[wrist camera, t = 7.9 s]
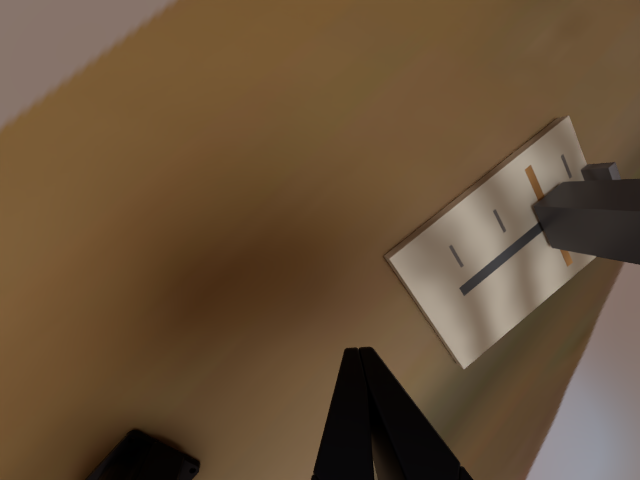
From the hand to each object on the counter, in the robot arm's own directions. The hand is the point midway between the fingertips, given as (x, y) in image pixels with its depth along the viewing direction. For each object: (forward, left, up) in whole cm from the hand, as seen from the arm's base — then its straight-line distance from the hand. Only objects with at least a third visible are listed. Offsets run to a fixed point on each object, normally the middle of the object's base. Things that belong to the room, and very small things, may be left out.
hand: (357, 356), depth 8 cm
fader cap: (+18, -15, -12) cm, 26 cm away
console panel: (+13, -14, -13) cm, 23 cm away
